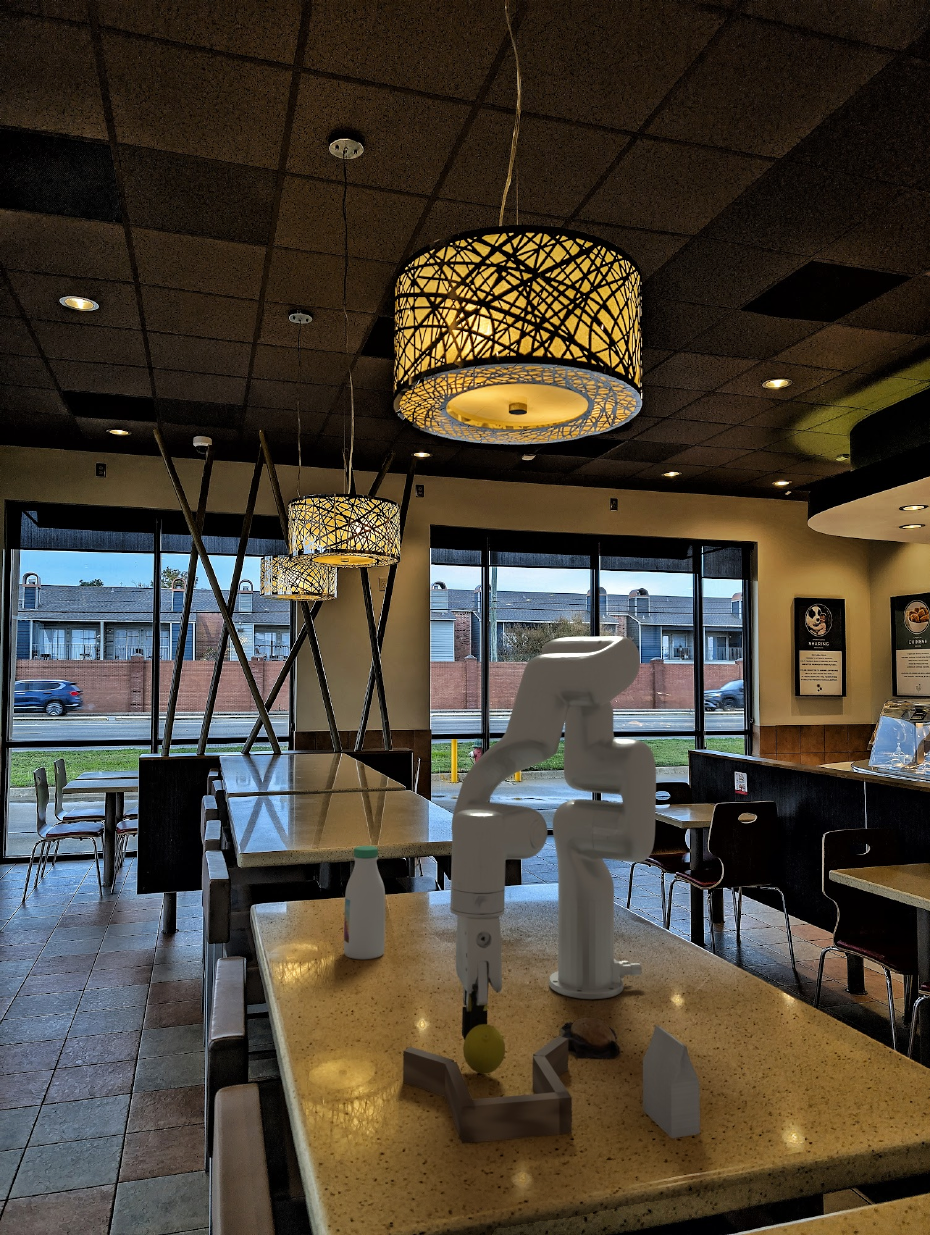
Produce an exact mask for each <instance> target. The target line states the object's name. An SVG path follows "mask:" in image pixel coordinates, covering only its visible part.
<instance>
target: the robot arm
mask: <svg viewBox="0 0 930 1235" xmlns="http://www.w3.org/2000/svg"><path fill="white" fill-rule="evenodd" d="M640 667H641V656H640V652H639V649H638V647H637V645H636V643H635V642H634V641H633V640H631V639H630V638H629V637H625V636H617V635H615V636H613V635H611V636H568V637H566V636H565V637H558V638H556V639H555V638H554V639H552V640H549V641H547V642H546V643H545V644H544V646H543V647H542V650H541V654H540V655H536V656H534V657H532V658H531V659H530V660H529V661H528V662H527V664H526V665H525V667H524V670H523V673H522V676H521V679H520V683H519V686H518V689H517V693H516V696H515V700H514V703H513V707H512V710H511V714H510V717H509V720H508V724H507V727H506V730H505V732H504V734H503V736H502V737H501V738H500V739H499V740H498V741H497V742H495V743H494V744H493V745H491V747H490V748H489V749H487V751H485V752H484V753H483V754H482V755H481V756H480V757H479V758H478V759H477V761H476V762H474V764H473V765H472V767H470V768H469V770H468V772H467V773H466V775H465V777H464V779H463V781H462V783H461V786H460V790H459V792H458V797H457V799H456V802H455V806H454V809H453V814H452V820H451V834H452V835H451V836H452V837H451V838H452V839H451V868H450V870H451V872H450V873H451V875H450V876H451V877H450V906H449V908H450V913H451V914H453V915H455V916H457V918H456V932H455V934H456V935H455V969H456V974H457V977H458V979H459V981H460V983H461V985H462V1003H463V1006H462V1013H461V1015H462V1019H461V1036H462V1037H463V1038H462V1039H463V1040H464V1041H465V1038H466V1036H467V1034H468V1033H469V1032H470V1030H472V1029H473V1028H474V1027H475V1026H478V1025H481V1024H488V1001H489V988H490V987H489V985H490V986H491V989H493V991H494V992H495V993H501V991H502V989H503V974H502V973H503V970H502V966H503V965H502V962H503V961H502V936H501V935H502V934H501V922H500V917H501V916H503V915H504V914H505V900H506V899H505V897H506V896H505V893H506V890H505V888H506V887H505V886H506V860H526V859H530V858H533V857H534V856H537V855H538V854H539V853H540V852H541V850H542V849H543V848H544V847H545V844H546V842H547V838H548V826H547V822H546V820H545V817H544V816H543V815H542V814H541V813H540V812H539V811H537V810H536V809H534V808H532V807H528V806H523V805H514V804H507V803H499V802H489V801H490V799H491V797H492V795H493V793H494V792H495V790H496V789H497V788H498V786H499V785H501V783H503V781H505V780H507V779H508V778H510V777H512V776H513V775H515V774H516V773H519V772H521V771H523V770H526V769H528V768H530V767H534V766H535V765H538V764H540V763H543V762H545V761H547V760H550V759H551V758H552V757H554V756H555V755H556V754H557V752H558V749H559V746H560V742H561V738H562V735H563V730H564V741H563V742H564V743H563V744H564V745H563V746H564V747H563V748H564V749H563V773H564V774H563V775H564V780H565V782H566V784H567V785H568V786H569V787H570V788H572V789H574V790H577V791H582V792H588V793H597V794H607V795H617V796H619V795H620V797H621V799H622V802H615V801H614V802H613V801H607V800H606V801H605V800H597V799H596V800H595V799H584V798H581V799H580V798H579V799H571V800H567V801H564V802H562V803H561V804H560V805H559V806H558V807H557V808H556V810H555V812H554V814H553V817H552V834H553V839H554V844H555V850H556V859H557V871H558V872H557V875H558V878H557V880H558V885H557V886H558V891H557V892H558V896H557V897H558V902H557V905H558V907H557V911H558V912H557V913H558V920H557V921H558V922H557V924H558V925H557V926H558V927H557V928H558V929H557V931H558V934H557V935H558V936H557V939H558V940H557V942H558V944H557V946H558V947H557V948H558V949H557V950H558V951H557V959H558V960H557V962H558V963H557V968H558V970H557V971H555V972H553V973H552V974H550V975H549V978H548V985H549V987H550V988H551V989H552V990H553V991H555V992H556V993H557V994H560V995H563V996H565V997H568V998H575V999H581V1000H582V999H583V1000H600V999H607V998H612V997H615V996H617V995H619V994H621V993H622V992H623V990H624V981H623V979H624V978H625V976H630V977H631V976H642V965H641V963H639V962H638V963H635V962H634V963H629V961H628V960H620V961H618V960H617V959H616V958H615V916H614V915H615V913H614V912H615V907H614V906H615V904H614V903H615V901H614V900H615V887H614V880H613V877H612V873H611V872H610V870H609V868H608V866H607V864H606V863H605V860H613V861H618V862H619V861H620V862H626V863H640V862H644V861H645V860H647V859H648V858H649V857H650V856H651V854H652V852H653V849H654V844H655V839H656V838H655V837H656V801H657V800H656V799H657V798H656V796H657V795H656V793H657V769H656V768H657V767H656V761H655V760H656V759H655V757H654V753H653V751H652V750H651V748H650V746H649V745H648V744H647V743H646V742H644V741H641V740H638V739H633V738H619V737H618V738H617V737H616V738H615V735H614V714H615V713H614V708H613V705H612V703H611V701H613V700H614V699H615V698H617V696H619V695H620V694H622V693H623V692H624V691H626V690H627V689H628V688H629V687H630V686H632V684H633V683H634V681H635V680H636V678H637V676H638V674H639V671H640ZM604 859H605V860H604Z"/></svg>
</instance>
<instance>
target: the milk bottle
mask: <svg viewBox="0 0 930 1235" xmlns="http://www.w3.org/2000/svg"><path fill="white" fill-rule="evenodd" d="M378 856H379V848H378V847H377V846H373V845H360V846H356V847H354V848H353V860H354V867H353V870H352V872H351V874H350V877H349V879H348V882H347V885H346V888H345V896H344V898H345V899H344V918H343V921H344V922H343V924H344V925H343V926H344V927H343V931H344V932H343V954H344V955H345V957H347V958H350V959H352V960H353V959H354V960H373V959H376V958H379V957H382V956H383V955H384V952H385V948H386V947H385V945H386V943H385V942H386V941H385V940H386V939H385V938H386V937H385V936H386V891H385V890H386V889H385V885H384V882H383V879H382V877H381V874H380V872H379V869H378V864H377V861H378V859H379V857H378Z"/></svg>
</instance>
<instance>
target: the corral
mask: <svg viewBox="0 0 930 1235" xmlns="http://www.w3.org/2000/svg"><path fill="white" fill-rule="evenodd" d="M402 1052H403V1053H402V1054H403V1055H402V1056H403V1057H402V1062H403V1063H402V1065H403V1066H402V1068H403V1069H402V1083H403V1084H407V1085H409V1086H413V1087H415V1088H418V1089H421V1090H424V1091H427V1092H430V1093H433V1094H435V1095H439V1096H441V1097H442V1096H443V1097H444V1098H445V1101H446V1104H447V1105H448V1108H449V1112H450V1115H451V1117H452V1120H453V1122H454V1126H455V1128H456V1132H457V1133H458V1136H459V1139H460V1142H461V1144H470V1143H480V1142H492V1141H501V1140H512V1139H513V1140H514V1139H523V1138H533V1137H543V1136H554V1135H556V1136H557V1135H565V1134H572V1133H573V1129H572V1128H573V1127H572V1126H573V1124H572V1123H573V1119H572V1118H573V1110H572V1109H573V1100H572V1098H573V1097H572V1095H571V1094H570V1092H569V1091H568V1089H567V1088H566V1086H565V1085H564V1083H563V1081H562V1080H561V1079H560V1076H561V1075H563V1074H564V1073H566V1071H568V1070H569V1053H568V1038H564V1037H561V1036H559V1035H558V1036H556V1037H555V1038H553V1039H552V1040H551V1041H549V1042H548V1043H547V1044H545V1045H543V1047H541V1048H540V1049H538V1050H536V1052H534V1053H533V1054H532V1090H533V1091H534V1094H533V1093H532V1094H531V1093H530V1094H520V1095H509V1096H497V1097H486V1098H474V1099H473V1097H472V1095H471V1093H470V1090H469V1088H468V1086H467V1083H466V1081H465V1079H464V1076H463V1074H462V1071H461V1069H460V1066H459V1064H458V1062H457V1061H455V1060H454V1059H451V1058H449V1057H445V1056H443V1055H439V1054H435V1053H433V1052H429V1051H426V1050H423V1049H419V1048H415V1047H413V1046H408V1047H407V1048H406V1049H404V1050H403V1051H402Z"/></svg>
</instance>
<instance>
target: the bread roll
mask: <svg viewBox="0 0 930 1235" xmlns="http://www.w3.org/2000/svg"><path fill="white" fill-rule="evenodd" d="M559 1035H560V1037H564V1038H568V1055H572V1056H574V1057H575V1059H580V1060H583V1059H584V1060H586V1059H587V1060H613V1059H618V1058H621V1057H622V1054H621V1049H620V1046H619V1045H618V1037H617V1033H616V1030H614V1028H613V1027H610V1026H608V1024H606V1022H605V1021H603V1020H601V1019H599V1018H597V1017H581V1018H578V1019H576V1020H574V1021H573V1022H572V1021H569V1022H565V1023H564V1025H563V1026H561V1027H560V1028H559Z"/></svg>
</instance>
